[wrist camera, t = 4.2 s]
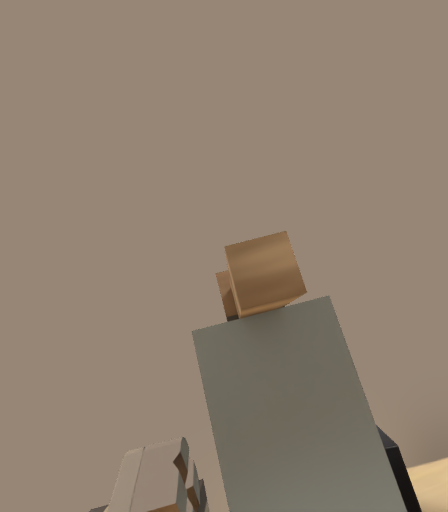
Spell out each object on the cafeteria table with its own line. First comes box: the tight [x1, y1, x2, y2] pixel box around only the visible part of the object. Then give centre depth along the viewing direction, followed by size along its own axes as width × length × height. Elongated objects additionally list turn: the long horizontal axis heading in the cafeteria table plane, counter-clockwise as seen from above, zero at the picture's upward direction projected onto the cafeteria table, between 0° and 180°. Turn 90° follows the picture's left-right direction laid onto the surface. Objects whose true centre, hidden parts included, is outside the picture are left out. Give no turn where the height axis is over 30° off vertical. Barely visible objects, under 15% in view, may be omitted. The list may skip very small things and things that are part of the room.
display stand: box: [192, 296, 407, 512], centre depth 21 cm, size 13×11×27 cm
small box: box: [376, 425, 422, 512], centre depth 34 cm, size 11×6×10 cm, turn 170°
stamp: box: [216, 231, 307, 322], centre depth 21 cm, size 16×5×4 cm, turn 177°
